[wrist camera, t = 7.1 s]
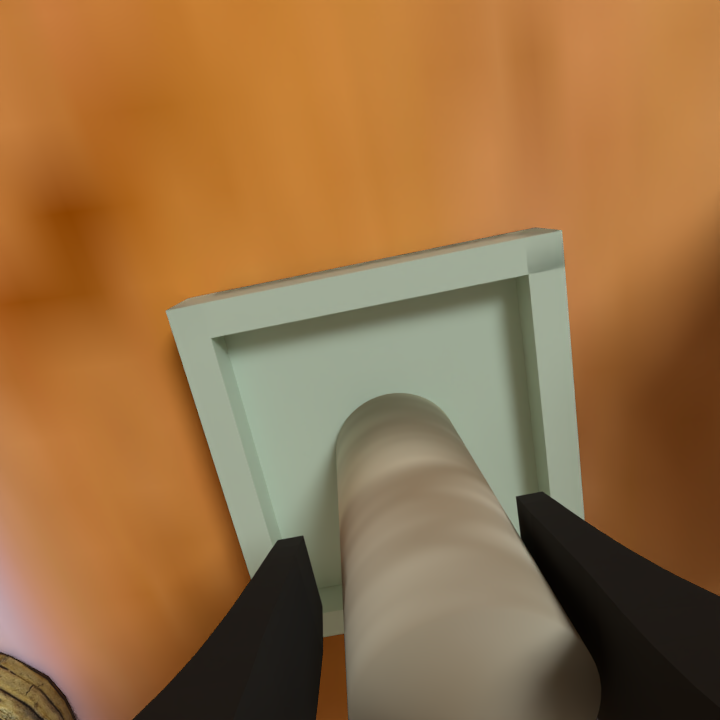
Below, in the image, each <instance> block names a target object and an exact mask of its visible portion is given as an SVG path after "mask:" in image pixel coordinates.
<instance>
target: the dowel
mask: <svg viewBox="0 0 720 720" xmlns="http://www.w3.org/2000/svg"><path fill="white" fill-rule="evenodd" d="M336 467H337V488H338V510H339V531H340V553H341V574H342V595H343V617H344V638H345V660H346V681H347V702H348V720H596V718H597V715H598V712H599V707H600V702H601V683H600V676H599V673H598V670H597V667H596V664H595V662H594V660H593V658H592V656H591V654H590V653H589V651H588V649H587V648H586V646H585V644H584V643H583V641H582V639H581V638H580V636H579V634H578V633H577V631H576V629H575V628H574V626H573V624H572V623H571V621H570V619H569V618H568V616H567V614H566V613H565V611H564V609H563V608H562V606H561V604H560V603H559V601H558V599H557V598H556V596H555V594H554V593H553V591H552V589H551V588H550V586H549V584H548V583H547V581H546V579H545V578H544V576H543V574H542V573H541V571H540V569H539V568H538V566H537V564H536V563H535V561H534V559H533V558H532V556H531V554H530V553H529V551H528V549H527V548H526V546H525V544H524V543H523V541H522V539H521V538H520V536H519V534H518V533H517V531H516V529H515V528H514V526H513V524H512V523H511V521H510V519H509V518H508V516H507V514H506V513H505V511H504V509H503V508H502V506H501V504H500V503H499V501H498V499H497V498H496V496H495V494H494V493H493V491H492V489H491V488H490V486H489V484H488V483H487V481H486V479H485V478H484V476H483V474H482V473H481V471H480V469H479V468H478V466H477V464H476V463H475V461H474V459H473V458H472V456H471V454H470V453H469V451H468V449H467V448H466V446H465V444H464V443H463V441H462V439H461V438H460V436H459V434H458V433H457V431H456V429H455V428H454V426H453V424H452V423H451V421H450V419H449V418H448V416H447V415H446V414H445V412H444V411H443V410H442V409H441V408H440V407H438V406H437V405H436V404H434V403H433V402H431V401H430V400H428V399H426V398H423V397H421V396H418V395H414V394H408V393H391V394H385V395H381V396H378V397H375V398H373V399H371V400H369V401H367V402H365V403H363V404H362V405H361V406H359V407H358V408H357V409H356V410H355V411H353V412H352V413H351V415H350V416H349V417H348V418H347V419H346V421H345V422H344V424H343V426H342V428H341V430H340V432H339V435H338V439H337V444H336Z"/></svg>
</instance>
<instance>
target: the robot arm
mask: <svg viewBox="0 0 720 720" xmlns="http://www.w3.org/2000/svg"><path fill="white" fill-rule="evenodd" d="M516 503H517V511H518V519H519V527H520V536H521V539H522V541H523V543H524V544H525V546H526V548H527V549H528V551H529V553H530V554H531V556H532V558H533V559H534V561H535V563H536V564H537V566H538V568H539V569H540V571H541V573H542V574H543V576H544V578H545V579H546V581H547V583H548V584H549V586H550V588H551V589H552V591H553V593H554V594H555V596H556V598H557V599H558V601H559V603H560V604H561V606H562V608H563V609H564V611H565V613H566V614H567V616H568V618H569V619H570V621H571V623H572V624H573V626H574V628H575V629H576V631H577V633H578V634H579V636H580V638H581V639H582V641H583V643H584V644H585V646H586V648H587V649H588V651H589V653H590V654H591V656H592V658H593V660H594V662H595V664H596V667H597V670H598V673H599V676H600V683H601V702H600V707H599V712H598V715H597V718H598V720H720V596H718V595H716V594H713V593H711V592H709V591H707V590H705V589H703V588H701V587H699V586H697V585H695V584H693V583H691V582H689V581H687V580H684V579H682V578H680V577H678V576H676V575H674V574H673V573H671V572H669V571H667V570H665V569H663V568H661V567H659V566H658V565H656V564H654V563H652V562H651V561H649V560H647V559H645V558H644V557H642V556H640V555H638V554H637V553H635V552H633V551H631V550H630V549H628V548H626V547H625V546H623V545H621V544H620V543H618V542H617V541H615V540H613V539H612V538H610V537H609V536H607V535H606V534H604V533H602V532H601V531H599V530H598V529H596V528H595V527H593V526H592V525H590V524H589V523H587V522H586V521H584V520H583V519H582V518H580V517H579V516H577V515H576V514H574V513H573V512H571V511H570V510H569V509H567V508H566V507H564V506H563V505H561V504H560V503H559V502H557V501H556V500H554V499H553V498H551V497H550V496H548V495H547V494H546V493H544V492H543V491H542V492H537V493H531V494H526V495H520V496H516ZM322 656H323V606H322V602H321V599H320V595H319V591H318V588H317V584H316V580H315V577H314V573H313V569H312V566H311V562H310V558H309V555H308V551H307V547H306V544H305V540H304V536H297V537H292V538H286V539H281V540H277V542H276V543H275V545H274V546H273V547H272V549H271V550H270V552H269V553H268V555H267V556H266V558H265V559H264V561H263V562H262V564H261V565H260V567H259V568H258V570H257V571H256V573H255V574H254V576H253V577H252V579H251V580H250V582H249V583H248V585H247V586H246V588H245V589H244V591H243V592H242V594H241V595H240V596H239V598H238V599H237V601H236V602H235V604H234V605H233V606H232V608H231V609H230V611H229V612H228V613H227V615H226V616H225V617H224V619H223V620H222V621H221V623H220V624H219V625H218V626H217V628H216V629H215V630H214V632H213V633H212V634H211V636H210V637H209V638H208V639H207V641H206V642H205V643H204V644H203V646H202V647H201V648H200V649H199V650H198V652H197V653H196V654H195V655H194V656H193V657H192V659H191V660H190V661H189V662H188V663H187V664H186V665H185V667H184V668H183V669H182V670H181V671H180V672H179V673H178V674H177V675H176V676H175V677H174V679H173V680H172V681H171V682H170V683H169V684H168V685H167V686H166V687H165V688H164V689H163V690H162V691H161V692H160V693H159V694H158V695H157V696H156V697H155V698H154V699H153V700H152V701H151V702H150V703H149V704H148V705H147V706H146V707H145V708H144V709H143V710H142V711H141V712H140V713H139V714H138V715H137V716H136V717H135V718H134V719H133V720H316V713H317V704H318V695H319V686H320V676H321V667H322Z"/></svg>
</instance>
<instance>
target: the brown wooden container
mask: <svg viewBox="0 0 720 720" xmlns="http://www.w3.org/2000/svg"><path fill="white" fill-rule="evenodd" d="M0 720H75V716H74V714H73V712H72V710H71V708H70V706H69V704H68V702H67V700H66V698H65V696H64V695H63V694H62V693H61V691H60V690H59V689H58V688H57V687H56V686H55V684H54V683H53V682H52V681H51V680H50V678H49V677H48V676H46V675H44V674H42V673H40V672H39V671H37V670H35V669H33V668H31V667H29V666H27V665H26V664H24V663H22V662H20V661H18V660H16V659H14V658H13V657H11V656H8V655H5V654H3V653H0Z"/></svg>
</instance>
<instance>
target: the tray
mask: <svg viewBox="0 0 720 720" xmlns="http://www.w3.org/2000/svg"><path fill="white" fill-rule="evenodd" d="M166 313H167V316H168V320H169V323H170V326H171V329H172V332H173V335H174V338H175V342H176V345H177V348H178V351H179V354H180V357H181V360H182V364H183V367H184V370H185V373H186V376H187V379H188V382H189V386H190V389H191V392H192V395H193V398H194V401H195V405H196V408H197V411H198V414H199V417H200V420H201V423H202V427H203V430H204V433H205V436H206V439H207V442H208V445H209V449H210V452H211V455H212V458H213V461H214V464H215V467H216V471H217V474H218V477H219V480H220V483H221V486H222V489H223V493H224V496H225V499H226V502H227V505H228V508H229V511H230V515H231V518H232V521H233V524H234V527H235V530H236V533H237V537H238V540H239V543H240V546H241V549H242V552H243V555H244V559H245V562H246V565H247V568H248V571H249V574H250V577H251V579H252V577H253V576H254V574H255V573H256V571H257V570H258V568H259V567H260V565H261V564H262V562H263V561H264V559H265V558H266V556H267V555H268V553H269V552H270V550H271V549H272V547H273V546H274V545H275V543H276V542H277V540H281V539H286V538H292V537H297V536H304V540H305V544H306V547H307V551H308V555H309V558H310V562H311V566H312V569H313V573H314V577H315V580H316V584H317V588H318V591H319V595H320V599H321V602H322V606H323V637H328V636H333V635H339V634H344V617H343V595H342V574H341V553H340V531H339V510H338V488H337V467H336V444H337V439H338V435H339V432H340V430H341V428H342V426H343V424H344V422H345V421H346V419H347V418H348V417H349V416H350V415H351V413H352V412H353V411H355V410H356V409H357V408H358V407H359V406H361V405H362V404H363V403H365V402H367V401H369V400H371V399H373V398H375V397H378V396H381V395H385V394H391V393H408V394H414V395H418V396H421V397H423V398H426V399H428V400H430V401H431V402H433V403H434V404H436V405H437V406H438V407H440V408H441V409H442V410H443V411H444V412H445V414H446V415H447V416H448V418H449V419H450V421H451V423H452V424H453V426H454V428H455V429H456V431H457V433H458V434H459V436H460V438H461V439H462V441H463V443H464V444H465V446H466V448H467V449H468V451H469V453H470V454H471V456H472V458H473V459H474V461H475V463H476V464H477V466H478V468H479V469H480V471H481V473H482V474H483V476H484V478H485V479H486V481H487V483H488V484H489V486H490V488H491V489H492V491H493V493H494V494H495V496H496V498H497V499H498V501H499V503H500V504H501V506H502V508H503V509H504V511H505V513H506V514H507V516H508V518H509V519H510V521H511V523H512V524H513V526H514V528H515V529H516V531H517V533H518V534H519V536H520V527H519V519H518V511H517V503H516V496H520V495H526V494H531V493H537V492H542V491H543V492H544V493H546V494H547V495H548V496H550V497H551V498H553V499H554V500H556V501H557V502H559V503H560V504H561V505H563V506H564V507H566V508H567V509H569V510H570V511H571V512H573V513H574V514H576V515H577V516H579V517H580V518H582V519H583V520H584V521H585V519H584V507H583V494H582V481H581V468H580V455H579V443H578V430H577V417H576V404H575V391H574V379H573V366H572V353H571V340H570V327H569V314H568V302H567V289H566V276H565V263H564V250H563V238H562V230H555V229H545V228H531V229H526V230H521V231H516V232H511V233H506V234H501V235H496V236H492V237H487V238H482V239H477V240H472V241H467V242H462V243H457V244H452V245H447V246H442V247H438V248H433V249H428V250H423V251H418V252H413V253H408V254H403V255H398V256H393V257H389V258H384V259H379V260H374V261H369V262H364V263H359V264H354V265H349V266H344V267H340V268H335V269H330V270H325V271H320V272H315V273H310V274H305V275H300V276H295V277H291V278H286V279H281V280H276V281H271V282H266V283H261V284H256V285H251V286H246V287H241V288H237V289H232V290H227V291H222V292H217V293H212V294H207V295H202V296H197V297H192V298H188V299H186V300H184V301H182V302H181V303H179V304H177V305H175V306H173V307H172V308H170V309H168V310H166ZM520 538H521V536H520Z"/></svg>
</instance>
